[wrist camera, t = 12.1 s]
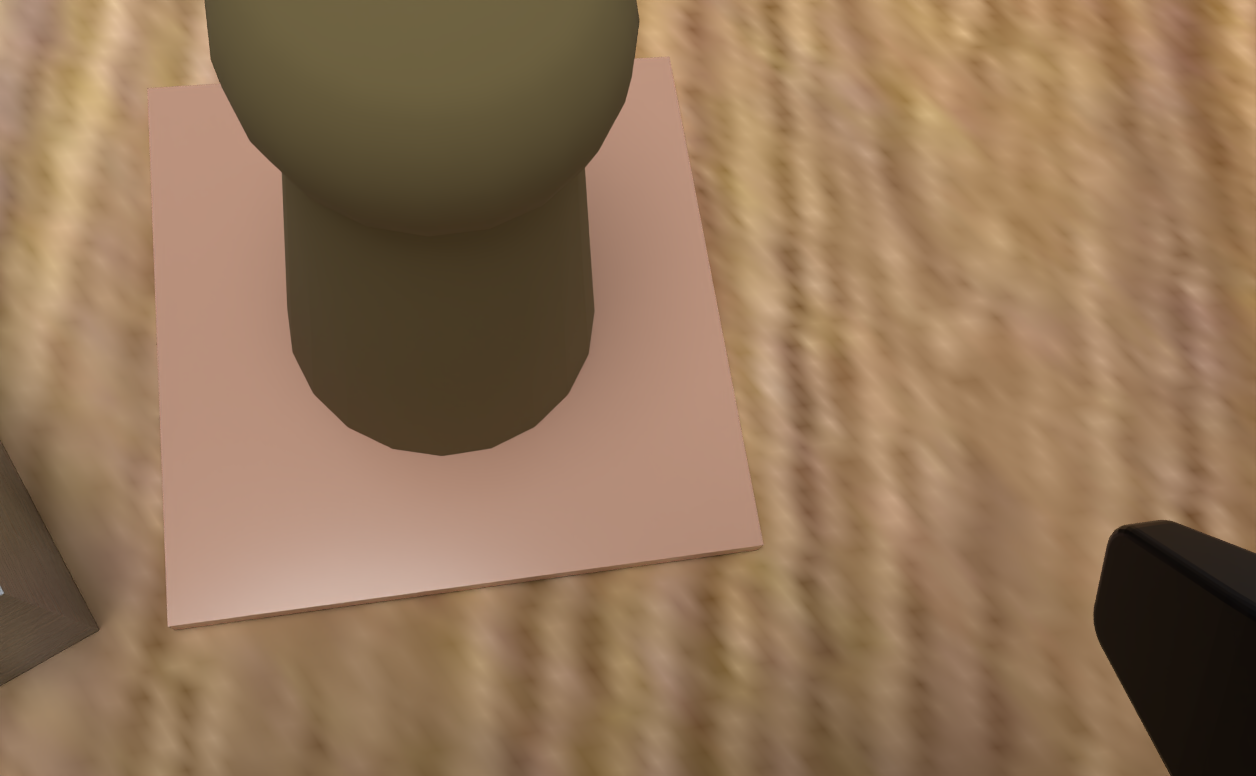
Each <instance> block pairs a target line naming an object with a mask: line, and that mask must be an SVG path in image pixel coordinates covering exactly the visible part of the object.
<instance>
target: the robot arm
mask: <svg viewBox="0 0 1256 776" xmlns="http://www.w3.org/2000/svg"><path fill="white" fill-rule="evenodd" d="M1094 626H1095V631H1096V634H1097V637H1098V640H1099V642H1100V645H1101V647H1102V649H1103V650H1104V652H1105V654H1106V656H1107V658H1108V660H1109V662H1110V664H1111V665H1112V667H1113V669H1114V671H1115V673H1116V675H1117V677H1118V678H1119V680H1120V682H1121V684H1122V686H1123V688H1124V690H1125V691H1126V693H1127V695H1128V697H1129V699H1130V701H1131V703H1132V705H1133V706H1134V708H1135V710H1136V712H1137V714H1138V716H1139V718H1140V719H1141V721H1142V723H1143V725H1144V727H1145V729H1146V731H1147V732H1148V734H1149V736H1150V738H1151V740H1152V742H1153V744H1154V746H1155V747H1156V749H1157V751H1158V753H1159V755H1160V757H1161V759H1162V760H1163V762H1164V764H1165V766H1166V768H1167V770H1168V772H1169V773H1170V775H1171V776H1256V553H1253V552H1251V551H1248V550H1246V549H1243V548H1241V547H1238V546H1235V545H1233V544H1230V543H1228V542H1225V541H1222V540H1220V539H1217V538H1215V537H1212V536H1210V535H1207V534H1204V533H1202V532H1199V531H1197V530H1194V529H1191V528H1189V527H1186V526H1184V525H1181V524H1179V523H1176V522H1173V521H1168V520H1156V521H1149V522H1142V523H1135V524H1128V525H1123V526H1121V527H1119V528H1117V529H1116V530H1115V531H1114V532H1113V533H1112V535H1111V536H1110V538H1109V540H1108V544H1107V548H1106V553H1105V557H1104V562H1103V567H1102V572H1101V576H1100V581H1099V586H1098V591H1097V595H1096V600H1095V605H1094Z"/></svg>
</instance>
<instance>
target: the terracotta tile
mask: <svg viewBox="0 0 1256 776" xmlns="http://www.w3.org/2000/svg"><path fill="white" fill-rule="evenodd" d="M147 90H148V117H149V143H150V170H151V196H152V223H153V249H154V275H155V302H156V328H157V355H158V381H159V408H160V434H161V460H162V487H163V513H164V540H165V566H166V593H167V619H168V627H170V628H172V629H174V630H178V629H185V628H192V627H199V626H207V625H214V624H221V623H228V622H236V621H243V620H250V619H258V618H265V617H272V616H279V615H287V614H294V613H301V612H308V611H316V610H323V609H330V608H338V607H345V606H352V605H359V604H367V603H374V602H381V601H388V600H396V599H403V598H410V597H418V596H425V595H432V594H439V593H447V592H454V591H461V590H468V589H476V588H483V587H490V586H498V585H505V584H512V583H519V582H527V581H534V580H541V579H548V578H556V577H563V576H570V575H578V574H585V573H592V572H599V571H607V570H614V569H621V568H628V567H636V566H643V565H650V564H658V563H665V562H672V561H679V560H687V559H694V558H701V557H708V556H716V555H723V554H730V553H738V552H745V551H752V550H758V549H759V548H760V547H762V546H763V540H762V534H761V529H760V524H759V519H758V514H757V509H756V503H755V498H754V493H753V488H752V483H751V477H750V472H749V467H748V462H747V457H746V452H745V446H744V441H743V436H742V431H741V426H740V420H739V415H738V410H737V405H736V400H735V395H734V389H733V384H732V379H731V374H730V369H729V363H728V358H727V353H726V348H725V343H724V338H723V332H722V327H721V322H720V317H719V312H718V306H717V301H716V296H715V291H714V286H713V281H712V275H711V270H710V265H709V260H708V255H707V249H706V244H705V239H704V234H703V229H702V224H701V218H700V213H699V208H698V203H697V198H696V192H695V187H694V182H693V177H692V172H691V167H690V161H689V156H688V151H687V146H686V141H685V135H684V130H683V125H682V120H681V115H680V110H679V104H678V99H677V94H676V89H675V84H674V78H673V73H672V68H671V63H670V58H669V57H655V58H639V59H634V66H633V73H632V78H631V82H630V86H629V90H628V94H627V97H626V101H625V104H624V105H623V107H622V109H621V111H620V113H619V115H618V116H617V118H616V120H615V122H614V124H613V126H612V127H611V129H610V131H609V133H608V135H607V137H606V138H605V140H604V142H603V144H602V146H601V148H600V149H599V151H598V153H597V154H596V155H595V156H594V157H593V159H592V160H591V161H590V162H589V163H588V165H587V166H586V167H585V176H586V191H587V206H588V221H589V236H590V251H591V266H592V280H593V295H594V310H595V311H594V319H593V326H592V334H591V341H590V348H589V355H588V357H587V359H586V361H585V362H584V364H583V366H582V368H581V370H580V372H579V374H578V376H577V378H576V380H575V382H574V384H573V386H572V388H571V390H570V392H569V394H568V395H567V396H566V397H565V398H564V399H563V400H562V401H561V402H560V403H559V404H558V405H557V406H556V407H555V408H554V409H553V410H552V411H551V412H550V413H549V414H548V415H547V416H546V417H544V418H543V419H542V420H541V421H540V422H539V423H538V424H537V425H536V426H535V427H534V428H532V429H530V430H528V431H526V432H523V433H521V434H519V435H517V436H515V437H513V438H511V439H509V440H507V441H505V442H503V443H501V444H499V445H497V446H495V447H493V448H491V449H484V450H478V451H471V452H465V453H459V454H452V455H446V456H438V455H431V454H424V453H417V452H411V451H404V450H397V449H392V448H390V447H388V446H386V445H383V444H381V443H379V442H377V441H375V440H373V439H371V438H369V437H367V436H365V435H363V434H361V433H359V432H357V431H354V430H352V429H350V428H348V427H347V426H346V425H345V424H344V423H343V422H342V421H341V420H340V419H339V418H338V417H337V416H336V415H335V414H334V413H333V412H332V411H331V410H329V409H328V408H327V407H326V406H325V405H324V404H323V403H322V402H321V401H320V400H319V399H318V398H317V397H316V396H315V395H314V394H313V392H312V390H311V388H310V386H309V384H308V382H307V380H306V378H305V376H304V374H303V372H302V370H301V368H300V366H299V364H298V362H297V360H296V358H295V356H294V354H293V353H292V344H291V336H290V328H289V319H288V311H287V293H286V268H285V243H284V218H283V193H282V172H281V171H280V170H279V169H278V168H277V167H275V166H274V165H273V164H272V163H271V162H270V161H269V160H268V159H267V158H266V157H265V156H264V155H263V154H262V153H261V152H260V151H259V150H258V149H257V148H256V147H255V146H254V145H253V144H252V143H251V142H250V141H249V139H248V137H247V135H246V133H245V131H244V129H243V127H242V125H241V124H240V122H239V120H238V118H237V116H236V114H235V112H234V110H233V108H232V106H231V104H230V102H229V100H228V99H227V97H226V95H225V93H224V91H223V89H222V87H221V84H208V85H191V86H175V87H158V88H147Z"/></svg>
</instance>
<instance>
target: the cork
mask: <svg viewBox="0 0 1256 776" xmlns="http://www.w3.org/2000/svg"><path fill="white" fill-rule="evenodd" d="M205 9H206V19H207V28H208V37H209V47H210V56H211V61H212V64H213V66H214V69H215V71H216V74H217V76H218V79H219V82H220V84H221V87H222V89H223V91H224V93H225V95H226V97H227V99H228V100H229V102H230V104H231V106H232V108H233V110H234V112H235V114H236V116H237V118H238V120H239V122H240V124H241V125H242V127H243V129H244V131H245V133H246V135H247V137H248V139H249V141H250V142H251V143H252V144H253V145H254V146H255V147H256V148H257V149H258V150H259V151H260V152H261V153H262V154H263V155H264V156H265V157H266V158H267V159H268V160H269V161H270V162H271V163H272V164H273V165H274V166H275V167H277V168H278V169H279V170H280V171H281V172H282V193H283V218H284V243H285V268H286V293H287V311H288V319H289V328H290V336H291V344H292V353H293V354H294V356H295V358H296V360H297V362H298V364H299V366H300V368H301V370H302V372H303V374H304V376H305V378H306V380H307V382H308V384H309V386H310V388H311V390H312V392H313V394H314V395H315V396H316V397H317V398H318V399H319V400H320V401H321V402H322V403H323V404H324V405H325V406H326V407H327V408H328V409H329V410H331V411H332V412H333V413H334V414H335V415H336V416H337V417H338V418H339V419H340V420H341V421H342V422H343V423H344V424H345V425H346V426H347V427H348V428H350V429H352V430H354V431H357V432H359V433H361V434H363V435H365V436H367V437H369V438H371V439H373V440H375V441H377V442H379V443H381V444H383V445H386V446H388V447H390V448H392V449H397V450H404V451H411V452H417V453H424V454H431V455H438V456H446V455H452V454H459V453H465V452H471V451H478V450H484V449H491V448H493V447H495V446H497V445H499V444H501V443H503V442H505V441H507V440H509V439H511V438H513V437H515V436H517V435H519V434H521V433H523V432H526V431H528V430H530V429H532V428H534V427H535V426H536V425H537V424H538V423H539V422H540V421H541V420H542V419H543V418H544V417H546V416H547V415H548V414H549V413H550V412H551V411H552V410H553V409H554V408H555V407H556V406H557V405H558V404H559V403H560V402H561V401H562V400H563V399H564V398H565V397H566V396H567V395H568V394H569V392H570V390H571V388H572V386H573V384H574V382H575V380H576V378H577V376H578V374H579V372H580V370H581V368H582V366H583V364H584V362H585V361H586V359H587V357H588V355H589V348H590V341H591V334H592V326H593V319H594V311H595V310H594V295H593V280H592V266H591V251H590V236H589V221H588V206H587V191H586V176H585V167H586V166H587V165H588V163H589V162H590V161H591V160H592V159H593V157H594V156H595V155H596V154H597V153H598V151H599V149H600V148H601V146H602V144H603V142H604V140H605V138H606V137H607V135H608V133H609V131H610V129H611V127H612V126H613V124H614V122H615V120H616V118H617V116H618V115H619V113H620V111H621V109H622V107H623V105H624V104H625V101H626V97H627V94H628V90H629V86H630V82H631V78H632V73H633V66H634V58H635V50H636V43H637V35H638V28H639V15H638V8H637V2H636V0H205Z"/></svg>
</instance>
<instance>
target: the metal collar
mask: <svg viewBox="0 0 1256 776" xmlns="http://www.w3.org/2000/svg"><path fill="white" fill-rule="evenodd" d="M98 630H99V628H98V627H97V625H96V623H95V621H94V619H93V617H92V615H91V613H90V611H89V609H88V607H87V605H86V604H85V602H84V600H83V598H82V596H81V594H80V592H79V590H78V588H77V586H76V584H75V582H74V581H73V579H72V577H71V575H70V573H69V571H68V569H67V567H66V565H65V563H64V561H63V560H62V558H61V556H60V554H59V552H58V550H57V548H56V546H55V544H54V542H53V540H52V538H51V537H50V535H49V533H48V531H47V529H46V527H45V525H44V523H43V521H42V519H41V517H40V515H39V514H38V512H37V510H36V508H35V506H34V504H33V502H32V500H31V498H30V496H29V494H28V493H27V491H26V489H25V487H24V485H23V483H22V481H21V479H20V477H19V475H18V473H17V471H16V470H15V468H14V466H13V464H12V462H11V460H10V458H9V456H8V454H7V452H6V450H5V448H4V447H3V445H2V443H1V441H0V685H2V684H4V683H6V682H8V681H9V680H11V679H13V678H15V677H16V676H18V675H20V674H22V673H23V672H25V671H27V670H29V669H31V668H32V667H34V666H36V665H38V664H39V663H41V662H43V661H45V660H47V659H48V658H50V657H52V656H54V655H55V654H57V653H59V652H61V651H63V650H64V649H66V648H68V647H70V646H71V645H73V644H75V643H77V642H78V641H80V640H82V639H84V638H86V637H87V636H89V635H91V634H93V633H94V632H96V631H98Z"/></svg>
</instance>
